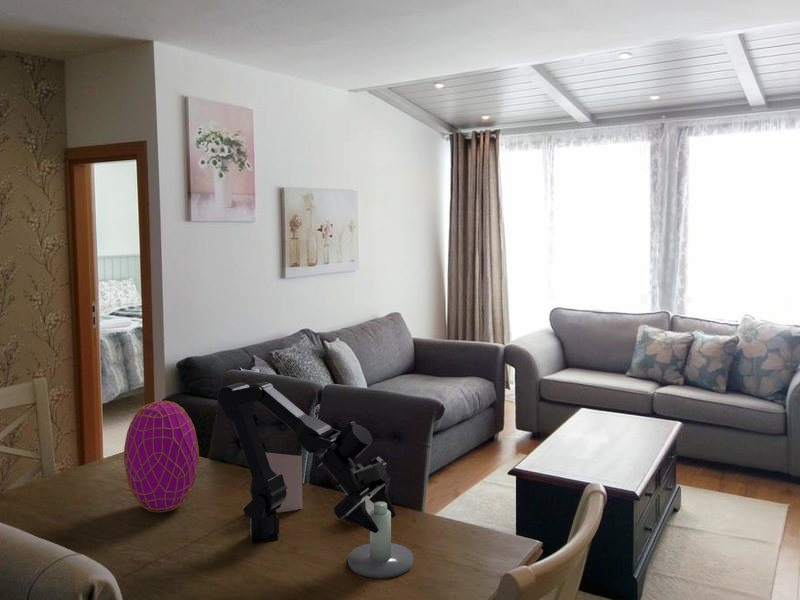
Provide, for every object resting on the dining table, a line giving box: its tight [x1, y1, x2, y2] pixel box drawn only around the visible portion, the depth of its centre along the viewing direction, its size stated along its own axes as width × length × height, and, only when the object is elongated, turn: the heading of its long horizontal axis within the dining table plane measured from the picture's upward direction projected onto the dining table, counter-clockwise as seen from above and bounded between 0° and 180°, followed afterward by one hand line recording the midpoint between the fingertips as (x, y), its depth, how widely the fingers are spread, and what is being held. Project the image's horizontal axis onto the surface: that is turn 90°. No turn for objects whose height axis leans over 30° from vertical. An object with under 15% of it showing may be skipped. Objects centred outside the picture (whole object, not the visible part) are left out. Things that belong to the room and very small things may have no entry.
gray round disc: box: [347, 542, 414, 579], centre depth 155 cm, size 15×15×1 cm
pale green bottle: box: [369, 502, 392, 562], centre depth 154 cm, size 5×5×12 cm
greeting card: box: [265, 452, 303, 513], centre depth 184 cm, size 11×7×15 cm, turn 74°
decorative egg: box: [123, 400, 200, 513], centre depth 184 cm, size 19×19×30 cm
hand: (386, 524), depth 154 cm, fingers open, 9 cm apart
